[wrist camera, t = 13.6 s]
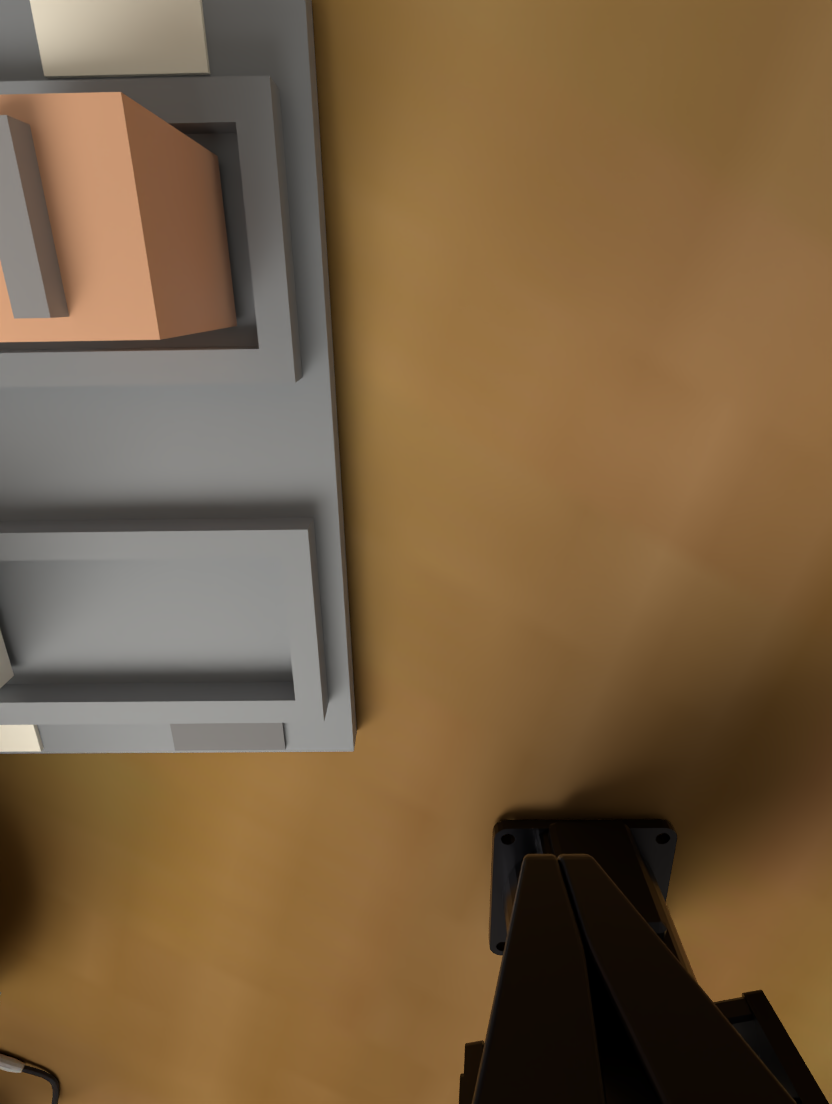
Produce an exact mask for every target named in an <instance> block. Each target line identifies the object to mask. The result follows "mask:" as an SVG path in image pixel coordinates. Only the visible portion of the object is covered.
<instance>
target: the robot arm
mask: <svg viewBox="0 0 832 1104" xmlns="http://www.w3.org/2000/svg"><path fill="white" fill-rule="evenodd" d="M662 833H664V834H662ZM505 834H511V835H509V836H503V835H505ZM659 834H662V835H659ZM676 842H677V834H676V832H675V830H674V828H673V826H672V824H671V823H670V822H669V821H667V820H662V819H620V820H504V821H501V822H499V823H497V824H496V825H495V826H494V828H493V839H492V865H491V891H490V917H489V944H490V950H491V951H492V952H493V953H495V954H497V955H503V957H502V962H501V967H500V972H499V977H498V981H497V986H496V991H495V996H494V1001H493V1005H492V1010H491V1015H490V1020H489V1025H488V1029H487V1034H486V1039H485V1043H484V1041H483V1040H482V1041H476V1042H471V1043H466V1044H465V1061H464V1074H461V1075H460V1091H459V1104H829V1103H828V1101H827V1100H826V1098H825V1096H824V1094H823V1093H822V1091H821V1089H820V1088H819V1086H818V1084H817V1083H816V1081H815V1079H814V1077H813V1076H812V1074H811V1072H810V1071H809V1069H808V1067H807V1066H806V1064H805V1062H804V1061H803V1059H802V1057H801V1055H800V1054H799V1052H798V1050H797V1049H796V1047H795V1045H794V1044H793V1042H792V1040H791V1038H790V1037H789V1035H788V1033H787V1032H786V1030H785V1028H784V1027H783V1025H782V1023H781V1022H780V1020H779V1018H778V1016H777V1015H776V1013H775V1011H774V1010H773V1008H772V1006H771V1005H770V1003H769V1001H768V999H767V998H766V996H765V994H764V993H763V991H762V990H757V991H751V992H746V993H742V997H740V998H734V999H729V1000H723V1001H718V1002H713V1001H712V1000H711V999H710V998H709V997H708V995H707V994H706V993H705V992H704V991H703V989H702V988H701V987H700V986H699V985H698V983H697V980H696V978H695V975H694V973H693V970H692V968H691V965H690V963H689V960H688V958H687V955H686V953H685V950H684V948H683V945H682V943H681V940H680V938H679V935H678V933H677V930H676V928H675V925H674V923H673V920H672V918H671V915H670V913H669V910H668V908H667V905H666V897H667V891H668V886H669V880H670V875H671V869H672V864H673V858H674V853H675V847H676Z"/></svg>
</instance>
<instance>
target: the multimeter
mask: <svg viewBox="0 0 832 1104" xmlns="http://www.w3.org/2000/svg"><path fill="white" fill-rule="evenodd" d="M0 1069H1V1070H4V1071H8V1072H16V1073H20V1072H25V1073H29V1074H32V1075H35V1076H38V1077H42V1078H44V1079H46V1080H47V1081H49V1082H50V1083H51V1085H52V1089H53V1098H52V1104H58V1097H59V1084H58V1081H57V1079H56V1078H55V1077H54V1076H53V1075H51V1074H49V1073H47V1072H45V1071H43V1070H40V1069H37V1068H33V1067H30V1066H26V1065H25V1064H24V1063H23V1062H21V1061H19V1060H17V1059H15V1058H12V1057H9V1056H6V1055H3V1054H0Z"/></svg>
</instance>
